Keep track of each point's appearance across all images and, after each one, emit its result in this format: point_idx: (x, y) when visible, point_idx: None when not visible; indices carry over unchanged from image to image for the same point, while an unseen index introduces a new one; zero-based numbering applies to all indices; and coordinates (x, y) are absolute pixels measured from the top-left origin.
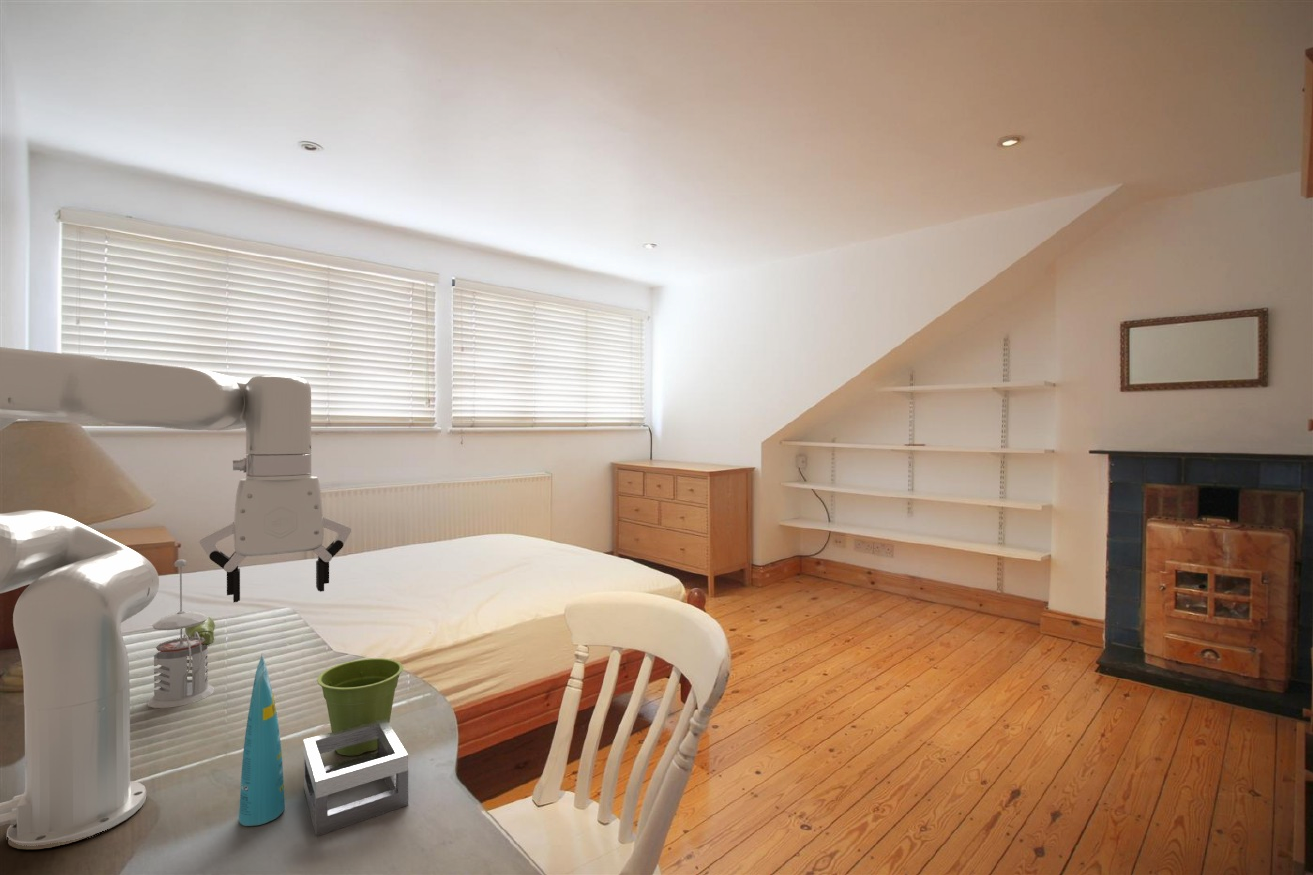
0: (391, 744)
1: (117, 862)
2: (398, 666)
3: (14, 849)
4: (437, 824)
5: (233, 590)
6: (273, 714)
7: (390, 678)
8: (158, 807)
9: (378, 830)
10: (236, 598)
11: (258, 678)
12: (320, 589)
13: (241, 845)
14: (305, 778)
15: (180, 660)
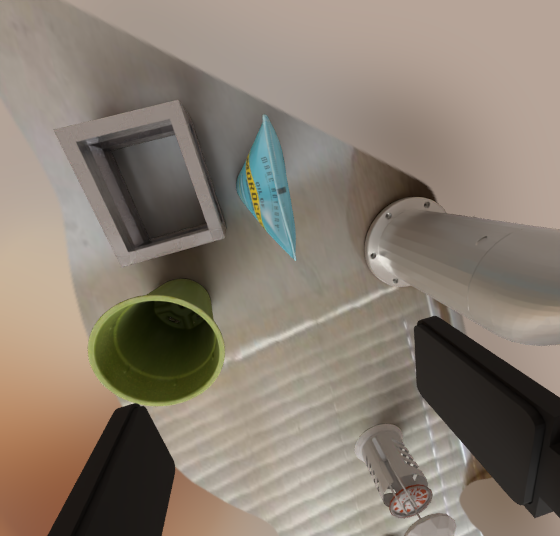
0: (91, 176)
1: (361, 153)
2: (101, 369)
3: None
4: (43, 78)
5: (470, 340)
6: (246, 160)
7: (100, 319)
8: (351, 239)
9: (120, 99)
10: (433, 321)
11: (276, 136)
12: (129, 408)
13: None
14: (221, 216)
15: (401, 472)
